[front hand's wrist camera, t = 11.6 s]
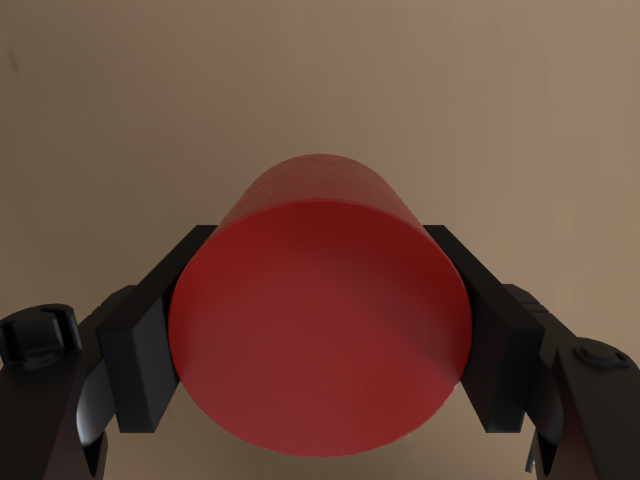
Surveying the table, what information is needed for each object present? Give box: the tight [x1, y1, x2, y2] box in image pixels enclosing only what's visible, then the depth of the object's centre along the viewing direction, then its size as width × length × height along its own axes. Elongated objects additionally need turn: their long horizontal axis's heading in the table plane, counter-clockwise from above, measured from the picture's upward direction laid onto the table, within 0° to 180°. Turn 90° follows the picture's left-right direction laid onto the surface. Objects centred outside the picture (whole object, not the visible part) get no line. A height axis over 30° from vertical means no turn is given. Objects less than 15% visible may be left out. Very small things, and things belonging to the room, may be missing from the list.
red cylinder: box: [168, 154, 473, 458], centre depth 12 cm, size 7×7×7 cm
